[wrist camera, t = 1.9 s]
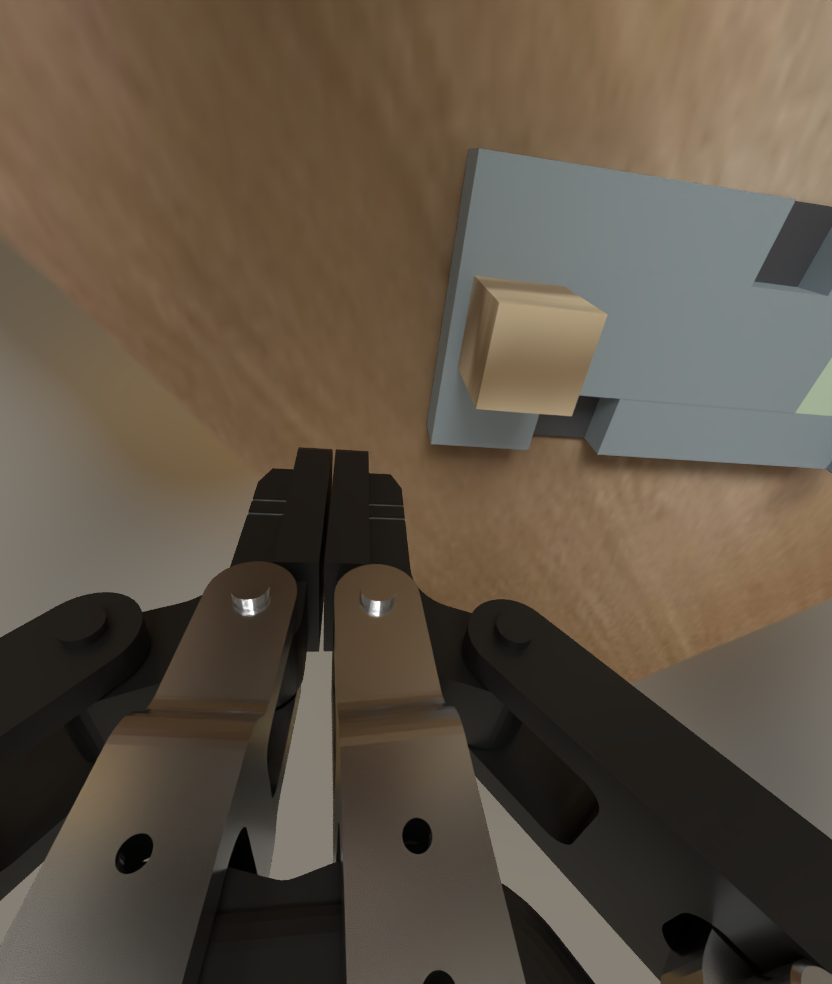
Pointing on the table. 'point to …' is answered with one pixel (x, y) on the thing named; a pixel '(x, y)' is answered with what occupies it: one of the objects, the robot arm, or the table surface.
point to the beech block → (527, 346)
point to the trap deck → (654, 312)
